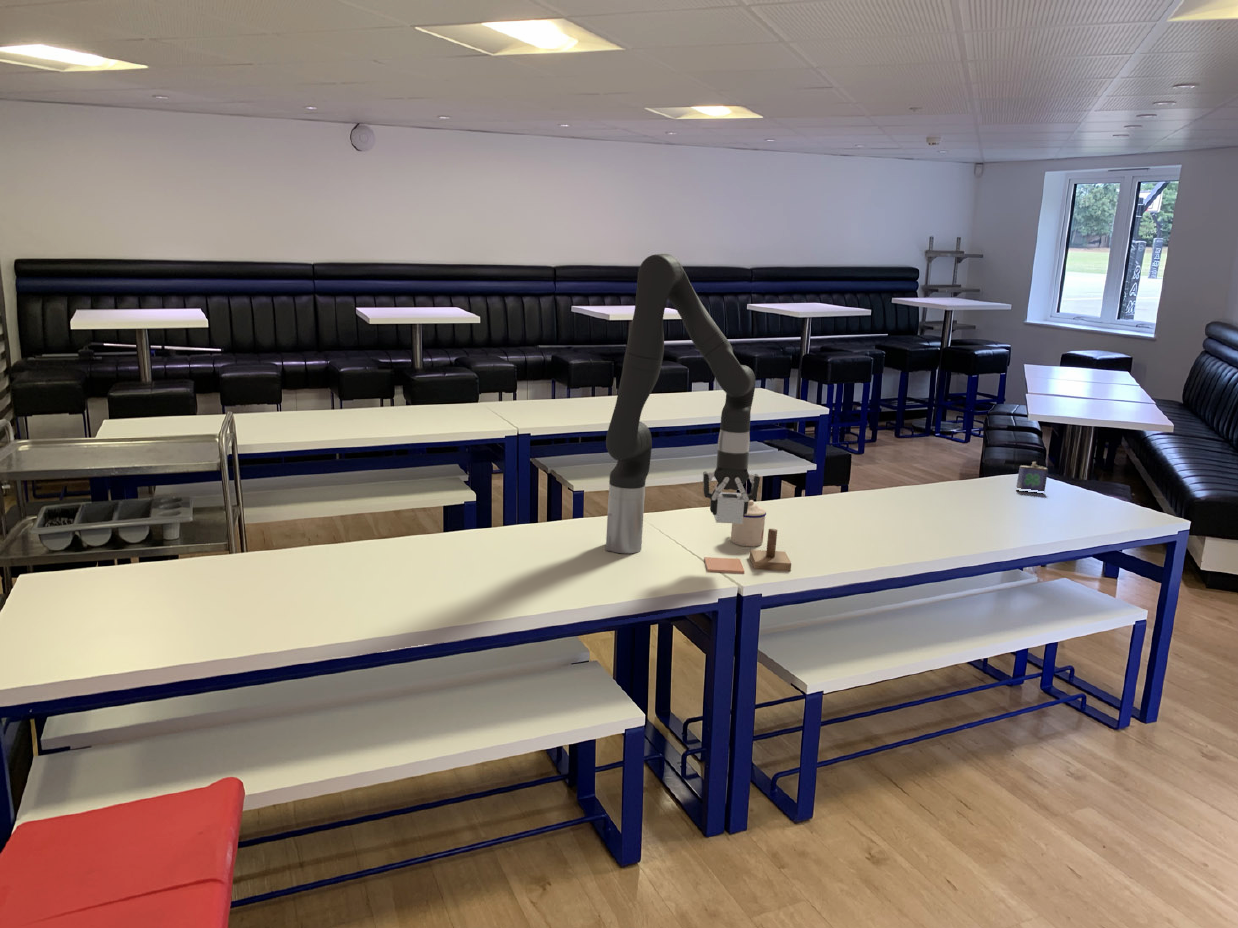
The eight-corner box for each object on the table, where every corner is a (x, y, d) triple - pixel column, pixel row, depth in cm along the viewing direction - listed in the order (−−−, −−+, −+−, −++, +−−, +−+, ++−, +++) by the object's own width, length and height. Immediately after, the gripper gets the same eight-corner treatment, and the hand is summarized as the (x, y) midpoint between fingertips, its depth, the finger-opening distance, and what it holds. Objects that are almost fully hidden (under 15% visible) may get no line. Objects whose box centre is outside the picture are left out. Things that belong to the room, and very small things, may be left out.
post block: (754, 569, 230) (757, 534, 228) (749, 557, 239) (752, 523, 237) (790, 570, 230) (794, 536, 228) (784, 558, 239) (787, 525, 237)
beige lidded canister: (769, 546, 248) (773, 504, 245) (737, 548, 245) (741, 505, 243) (750, 532, 259) (754, 492, 256) (720, 534, 257) (723, 493, 254)
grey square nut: (716, 522, 225) (717, 498, 223) (713, 515, 231) (715, 491, 230) (742, 523, 225) (744, 499, 223) (739, 516, 231) (741, 493, 230)
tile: (707, 571, 226) (707, 569, 226) (704, 559, 235) (704, 557, 235) (744, 573, 226) (744, 571, 226) (739, 561, 235) (739, 558, 235)
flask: (1016, 491, 322) (1021, 461, 320) (1015, 489, 325) (1019, 459, 323) (1044, 494, 320) (1049, 464, 318) (1043, 492, 323) (1048, 462, 320)
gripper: (705, 450, 220) (700, 517, 224) (765, 453, 220) (759, 520, 224) (702, 443, 227) (697, 509, 231) (760, 446, 227) (755, 511, 231)
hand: (728, 514), depth 228 cm, fingers closed on grey square nut, 6 cm apart
